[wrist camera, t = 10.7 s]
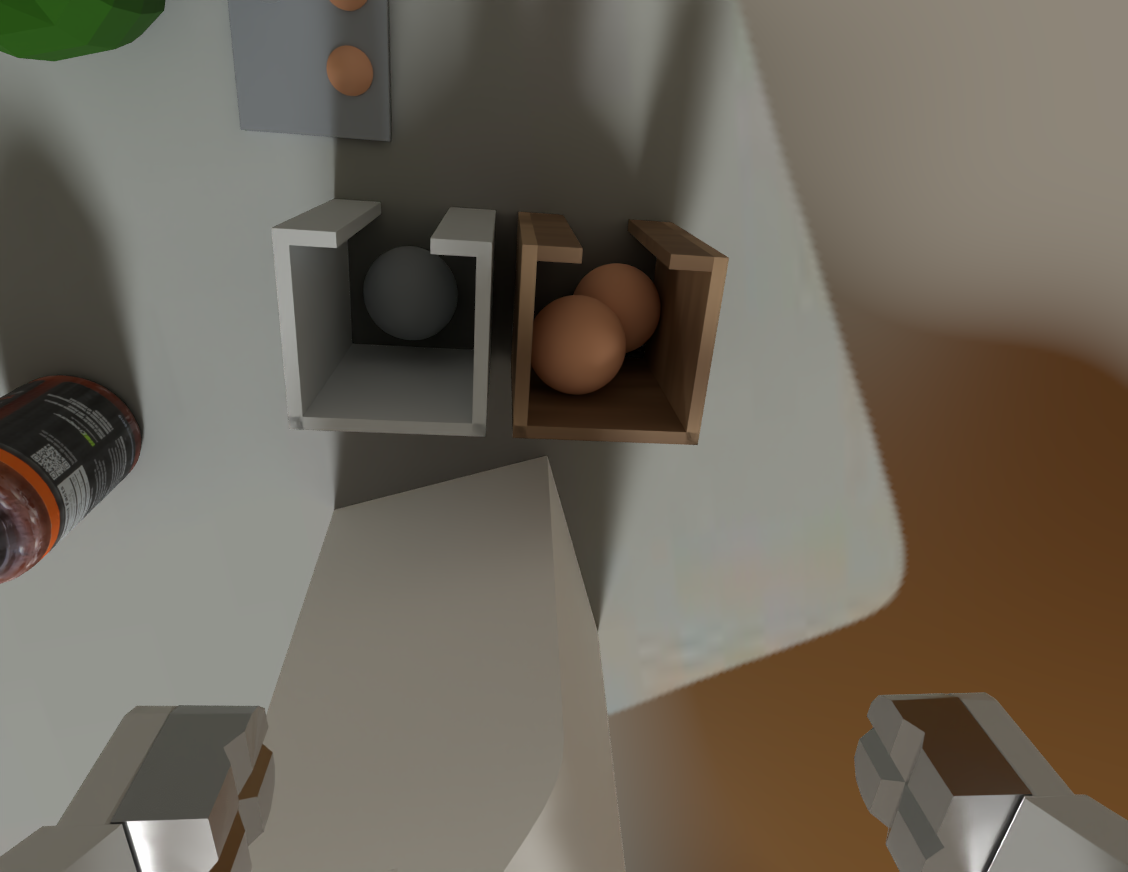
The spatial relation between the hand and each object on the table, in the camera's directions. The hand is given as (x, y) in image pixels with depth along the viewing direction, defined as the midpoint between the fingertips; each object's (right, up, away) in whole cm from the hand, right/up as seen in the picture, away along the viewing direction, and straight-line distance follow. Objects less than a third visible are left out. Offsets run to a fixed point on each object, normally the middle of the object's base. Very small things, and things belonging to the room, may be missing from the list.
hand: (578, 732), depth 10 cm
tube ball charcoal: (-7, +11, +23) cm, 26 cm away
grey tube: (-7, +11, +23) cm, 26 cm away
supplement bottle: (-24, +4, +25) cm, 34 cm away
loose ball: (+2, +8, +19) cm, 21 cm away
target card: (-10, +20, +18) cm, 29 cm away
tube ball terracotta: (+1, +11, +23) cm, 26 cm away
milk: (-5, -4, +30) cm, 31 cm away
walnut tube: (+1, +11, +24) cm, 26 cm away
